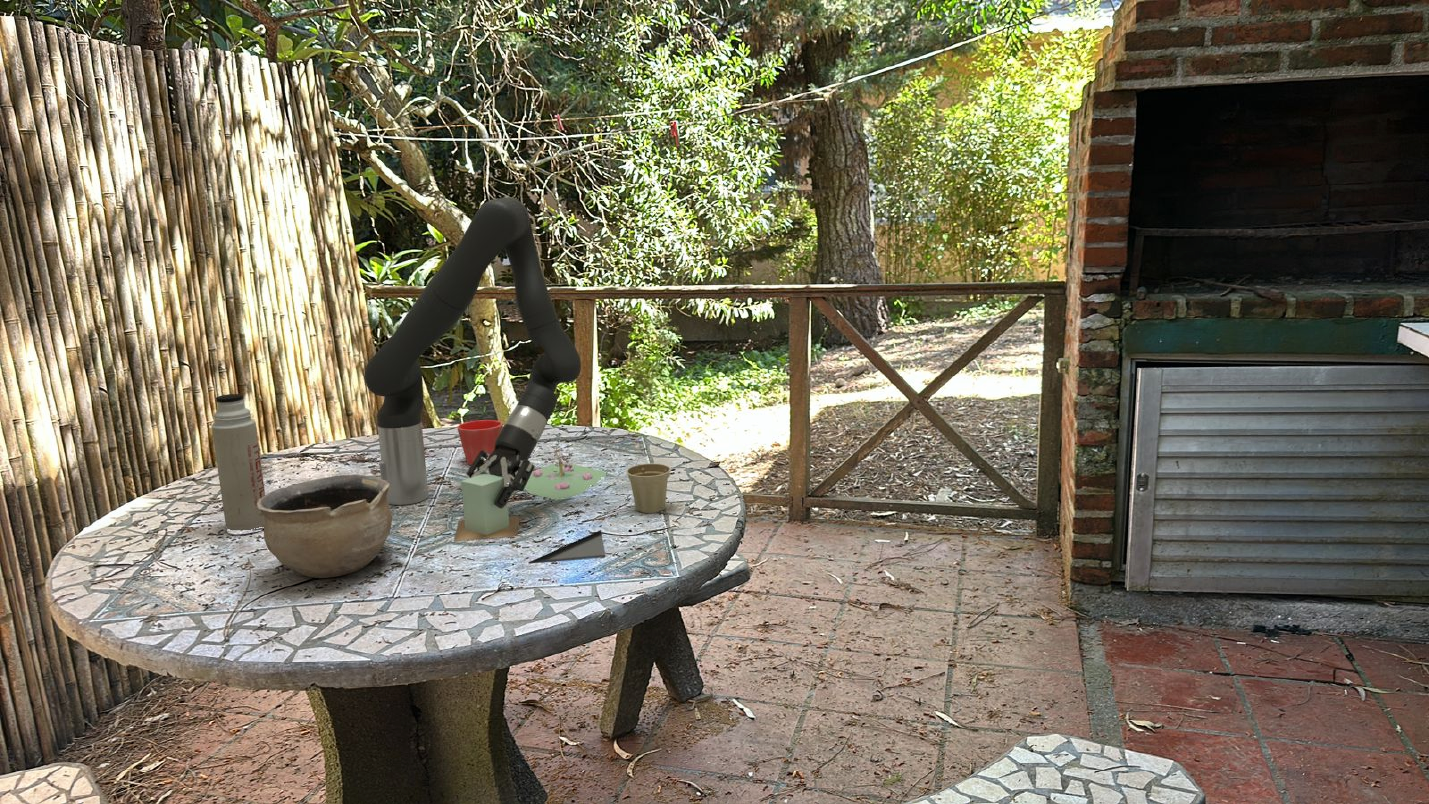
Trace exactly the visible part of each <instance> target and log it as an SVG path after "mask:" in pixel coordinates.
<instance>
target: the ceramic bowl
mask: <svg viewBox="0 0 1429 804" xmlns="http://www.w3.org/2000/svg"><path fill="white" fill-rule="evenodd" d="M389 485H390V484H389V483H388V482H387V481H386V480H382V479H381V477H377V476H372V475H365V474H344V475H343V474H342V475H333V476H328V477H321V478H320V477H319V478H316V479H311V480H307V481H303V482H298V483H295V484H292V485H291V484H290V485H287V486H284V487H281V488H280V487H279V488H277V489H275V490H272V491H270V492H268V493H267V494H265V496H264V497H262V498H261V499H259V501H258V503H257V506H258V508H259V510H260V511H261V513H262V514H263V515H264V530H263V539H264V542H265V545H266V547H267V549H268V551H269V552H270V553H271V554H272V555H273V556H274V557H275V558H276V559H277V561H278V562H280V563H281V564H282V565H283V566H284V568H288V569H289V570H292V571H294V572H295V573H297V574H299V575H302V576H304V577H308V578H316V579H318V578H319V579H324V578H325V579H327V578H336V577H341V576H345V575H348V574H352V573H355V572H357V571H360V570H362V569H363V568H364V567H366V566H367V565H369V564H370V563H371V562H372V561H373V560H374V559H375V558H376V557H377V556H378V555H379V553H380V552H381V550H382V548H383V547H384V545H385V543H386V541H387V539H388V537H389V535H390V533H391V529H392V525H393V524H392V523H393V515H392V512H391V511H392V510H391V507H390V504H389V503H388V500H387V497H386V496H387V493H388V489H389Z"/></svg>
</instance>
